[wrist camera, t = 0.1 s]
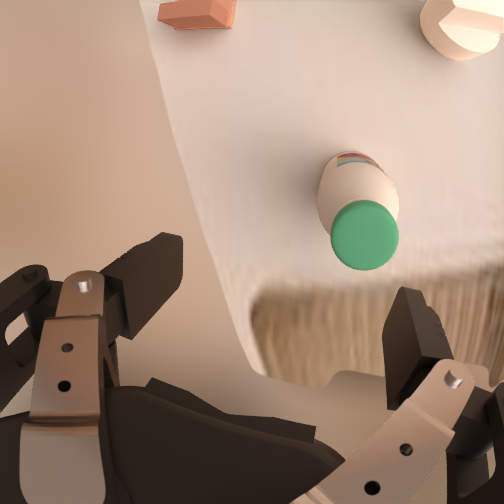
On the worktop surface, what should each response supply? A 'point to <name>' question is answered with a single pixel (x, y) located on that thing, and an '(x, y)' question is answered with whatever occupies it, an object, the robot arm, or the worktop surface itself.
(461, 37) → the base with upright slab
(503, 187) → the worktop surface
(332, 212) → the milk bottle
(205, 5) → the peach l-shaped block
